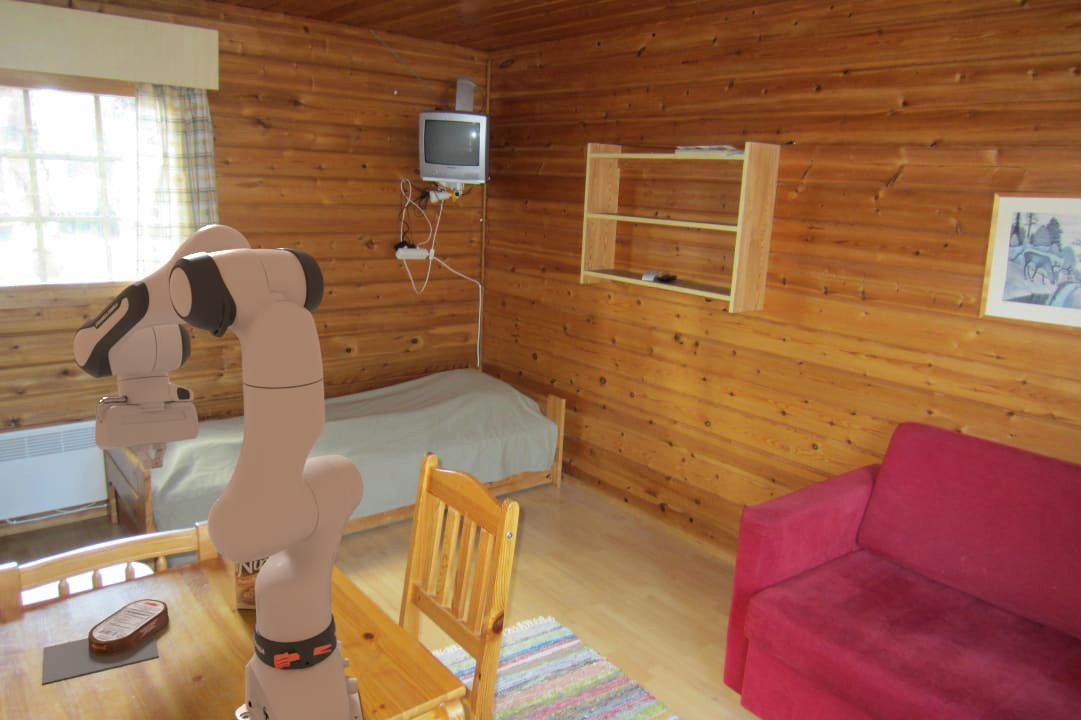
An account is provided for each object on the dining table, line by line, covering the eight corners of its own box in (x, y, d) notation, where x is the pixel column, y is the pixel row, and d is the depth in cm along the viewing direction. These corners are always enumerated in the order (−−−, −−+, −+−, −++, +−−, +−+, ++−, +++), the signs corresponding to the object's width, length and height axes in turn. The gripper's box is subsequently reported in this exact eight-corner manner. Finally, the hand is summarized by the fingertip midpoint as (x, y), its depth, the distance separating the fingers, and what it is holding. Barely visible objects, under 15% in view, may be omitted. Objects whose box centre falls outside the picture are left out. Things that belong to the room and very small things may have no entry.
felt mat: (158, 656, 138) (158, 655, 138) (42, 684, 130) (42, 683, 130) (153, 624, 147) (153, 623, 147) (43, 648, 139) (43, 647, 139)
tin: (76, 650, 139) (118, 662, 137) (76, 634, 138) (118, 646, 136) (140, 606, 153) (178, 617, 151) (140, 592, 152) (178, 602, 150)
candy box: (235, 609, 154) (231, 534, 150) (244, 598, 158) (241, 525, 154) (281, 612, 153) (278, 537, 150) (289, 600, 157) (287, 527, 154)
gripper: (106, 395, 141) (115, 474, 141) (200, 390, 160) (208, 460, 159) (82, 400, 144) (91, 477, 143) (177, 395, 163) (185, 464, 162)
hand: (153, 468), depth 151 cm, fingers closed
